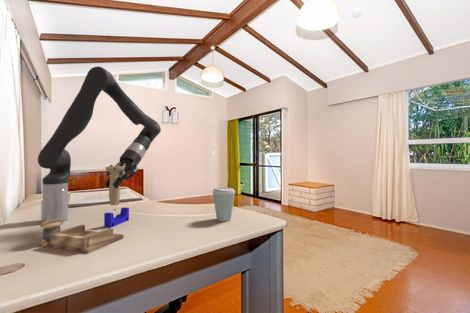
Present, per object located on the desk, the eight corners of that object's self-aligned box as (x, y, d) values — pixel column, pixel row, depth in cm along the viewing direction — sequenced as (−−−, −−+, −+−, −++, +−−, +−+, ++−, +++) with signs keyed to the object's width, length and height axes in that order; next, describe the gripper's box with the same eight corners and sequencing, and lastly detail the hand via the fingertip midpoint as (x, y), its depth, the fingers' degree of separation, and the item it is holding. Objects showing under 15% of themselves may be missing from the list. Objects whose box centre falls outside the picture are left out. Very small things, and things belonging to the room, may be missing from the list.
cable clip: (120, 220, 109) (120, 207, 109) (128, 220, 108) (129, 207, 108) (101, 227, 97) (101, 213, 98) (110, 228, 97) (110, 213, 97)
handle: (105, 204, 93) (105, 166, 92) (123, 203, 95) (123, 166, 95) (104, 206, 88) (105, 167, 88) (123, 205, 91) (124, 166, 91)
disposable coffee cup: (235, 216, 114) (234, 186, 114) (235, 222, 103) (235, 189, 103) (213, 217, 114) (213, 186, 114) (211, 223, 103) (211, 189, 103)
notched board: (46, 246, 76) (46, 233, 76) (85, 233, 89) (85, 222, 90) (88, 253, 71) (88, 239, 71) (123, 238, 84) (123, 226, 84)
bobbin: (35, 244, 78) (35, 223, 78) (54, 238, 83) (54, 219, 83) (48, 246, 76) (48, 225, 76) (66, 240, 82) (66, 220, 82)
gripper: (115, 148, 101) (90, 179, 89) (142, 148, 97) (120, 181, 85) (124, 160, 106) (101, 191, 94) (151, 161, 102) (130, 193, 90)
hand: (110, 186), depth 90 cm, fingers closed on handle, 3 cm apart
